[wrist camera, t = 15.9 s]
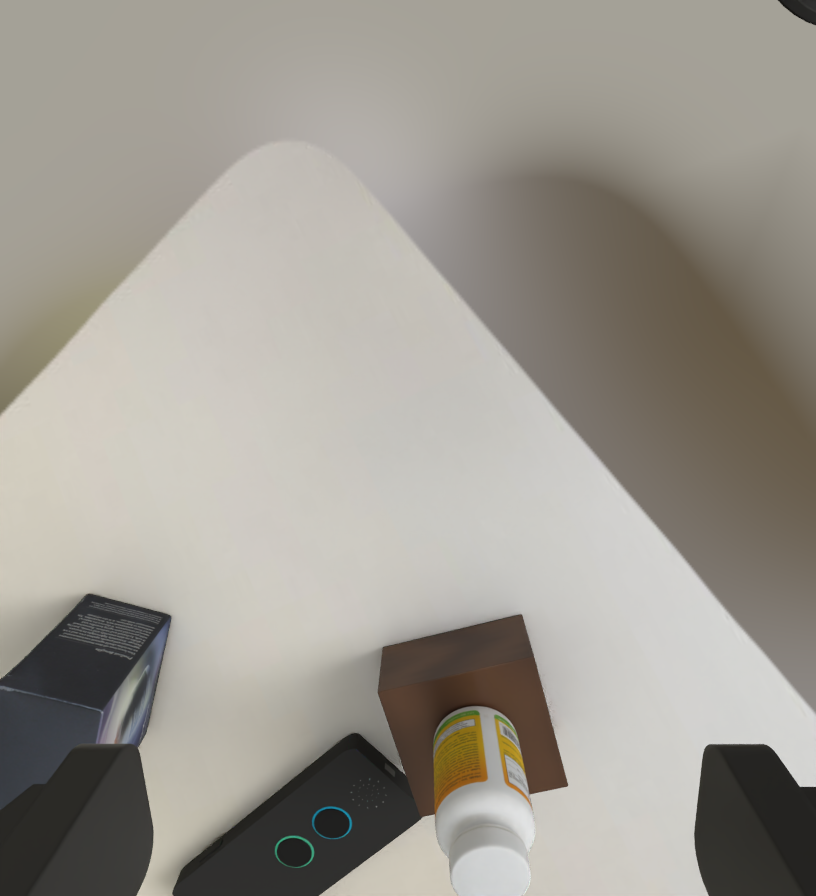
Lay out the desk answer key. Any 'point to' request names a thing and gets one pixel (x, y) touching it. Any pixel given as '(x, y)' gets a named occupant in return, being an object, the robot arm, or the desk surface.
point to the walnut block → (467, 698)
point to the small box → (79, 689)
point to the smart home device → (309, 829)
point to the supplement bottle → (482, 803)
